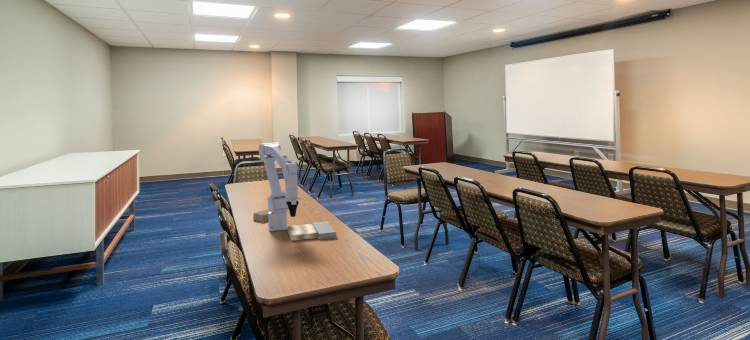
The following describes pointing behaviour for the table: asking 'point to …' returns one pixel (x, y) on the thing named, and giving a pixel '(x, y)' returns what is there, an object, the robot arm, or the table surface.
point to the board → (324, 230)
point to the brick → (261, 215)
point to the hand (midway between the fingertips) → (292, 216)
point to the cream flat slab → (302, 232)
